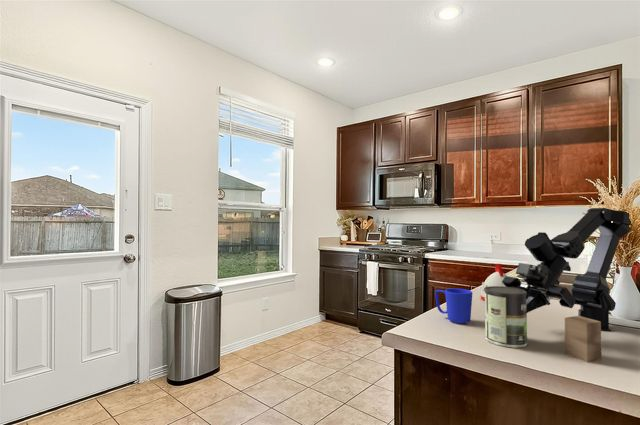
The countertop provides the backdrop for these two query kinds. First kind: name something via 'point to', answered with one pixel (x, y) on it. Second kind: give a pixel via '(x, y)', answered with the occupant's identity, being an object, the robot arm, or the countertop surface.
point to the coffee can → (506, 316)
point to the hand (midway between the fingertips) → (520, 313)
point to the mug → (457, 304)
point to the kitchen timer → (493, 280)
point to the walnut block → (583, 338)
